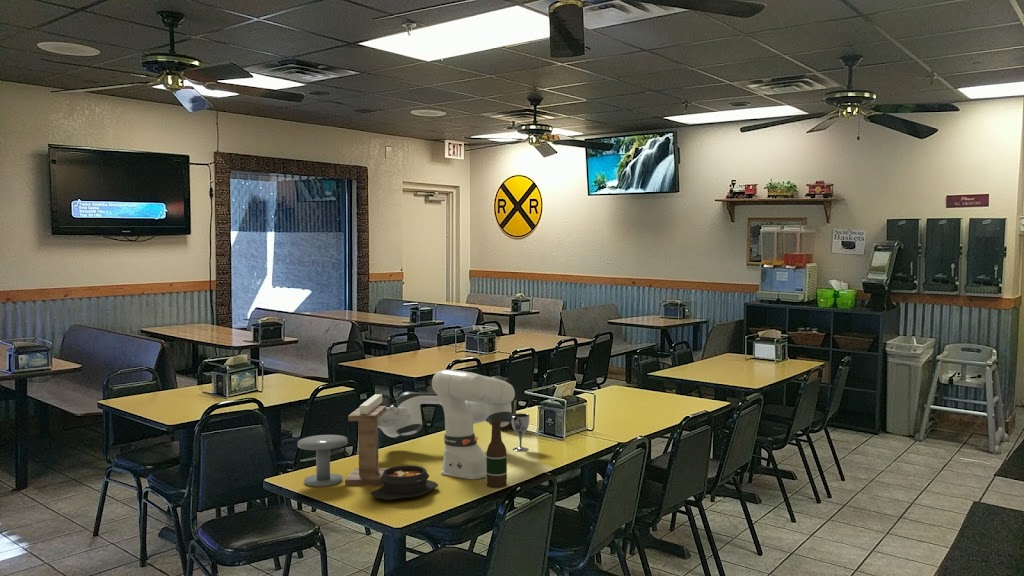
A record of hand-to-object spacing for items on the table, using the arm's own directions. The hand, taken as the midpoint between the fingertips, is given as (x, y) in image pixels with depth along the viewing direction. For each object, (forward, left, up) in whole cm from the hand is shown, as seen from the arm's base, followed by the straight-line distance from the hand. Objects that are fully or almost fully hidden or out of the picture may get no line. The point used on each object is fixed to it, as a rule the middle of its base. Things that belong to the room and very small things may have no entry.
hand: (380, 407), depth 301 cm
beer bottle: (-57, -9, -23) cm, 62 cm away
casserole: (-40, +20, -23) cm, 50 cm away
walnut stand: (-15, +17, -23) cm, 32 cm away
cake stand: (-4, +30, -23) cm, 38 cm away
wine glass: (-29, -53, -23) cm, 65 cm away
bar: (-11, +12, +3) cm, 17 cm away
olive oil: (+3, -78, -23) cm, 81 cm away
